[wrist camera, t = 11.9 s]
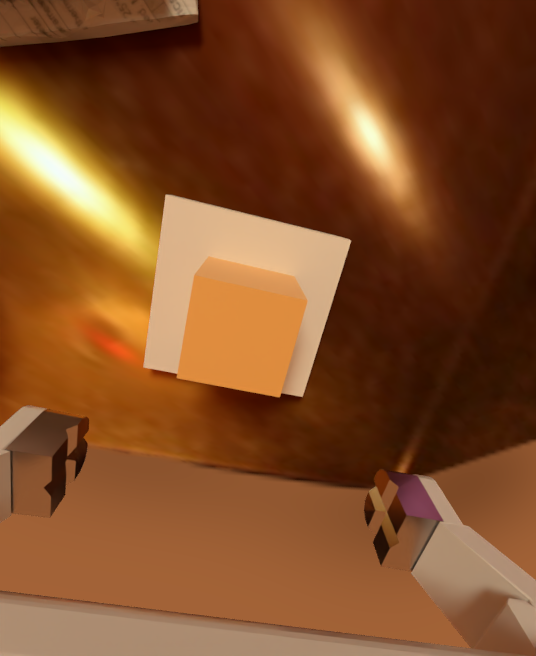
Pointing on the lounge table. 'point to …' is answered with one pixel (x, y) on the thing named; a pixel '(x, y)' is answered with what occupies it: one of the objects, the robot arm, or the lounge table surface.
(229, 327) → the solid orange cube
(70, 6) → the packaged product
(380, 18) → the lounge table surface
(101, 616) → the robot arm
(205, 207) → the pin plate
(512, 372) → the lounge table surface
